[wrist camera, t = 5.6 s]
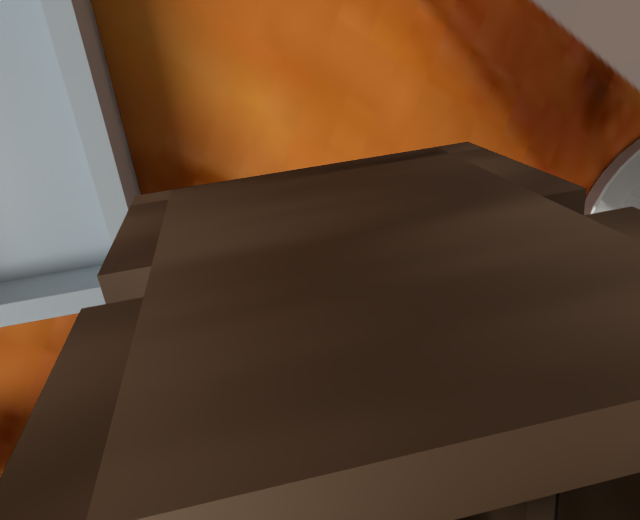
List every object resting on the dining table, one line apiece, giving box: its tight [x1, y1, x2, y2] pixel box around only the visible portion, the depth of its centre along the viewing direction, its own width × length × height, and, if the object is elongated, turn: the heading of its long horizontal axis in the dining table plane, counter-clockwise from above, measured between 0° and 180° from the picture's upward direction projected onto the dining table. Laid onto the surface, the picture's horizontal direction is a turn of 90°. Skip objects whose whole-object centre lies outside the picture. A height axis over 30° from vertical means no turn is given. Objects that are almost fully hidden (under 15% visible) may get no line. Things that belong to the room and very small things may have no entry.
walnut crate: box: [0, 142, 640, 520], centre depth 8 cm, size 6×9×7 cm, turn 6°
